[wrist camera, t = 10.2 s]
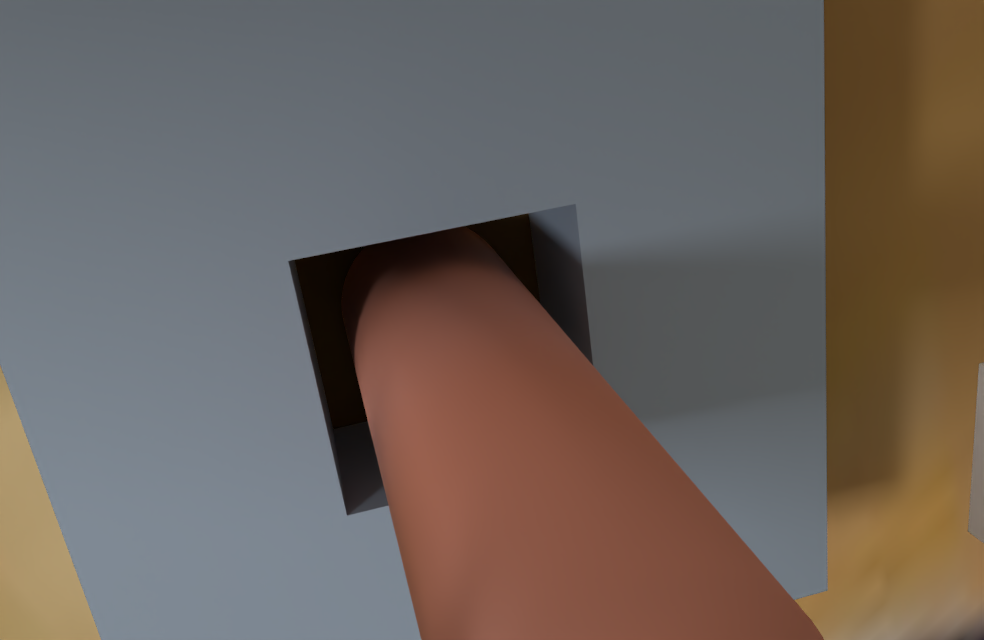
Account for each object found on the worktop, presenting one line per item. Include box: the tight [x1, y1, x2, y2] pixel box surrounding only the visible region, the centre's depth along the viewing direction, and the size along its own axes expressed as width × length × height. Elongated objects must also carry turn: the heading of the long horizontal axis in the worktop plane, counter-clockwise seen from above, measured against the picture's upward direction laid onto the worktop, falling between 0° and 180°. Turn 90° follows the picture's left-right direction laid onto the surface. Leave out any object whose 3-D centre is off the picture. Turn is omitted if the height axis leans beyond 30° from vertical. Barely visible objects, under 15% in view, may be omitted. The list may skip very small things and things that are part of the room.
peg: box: [341, 226, 824, 640], centre depth 16 cm, size 4×4×14 cm
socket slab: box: [0, 0, 827, 640], centre depth 20 cm, size 16×16×4 cm
